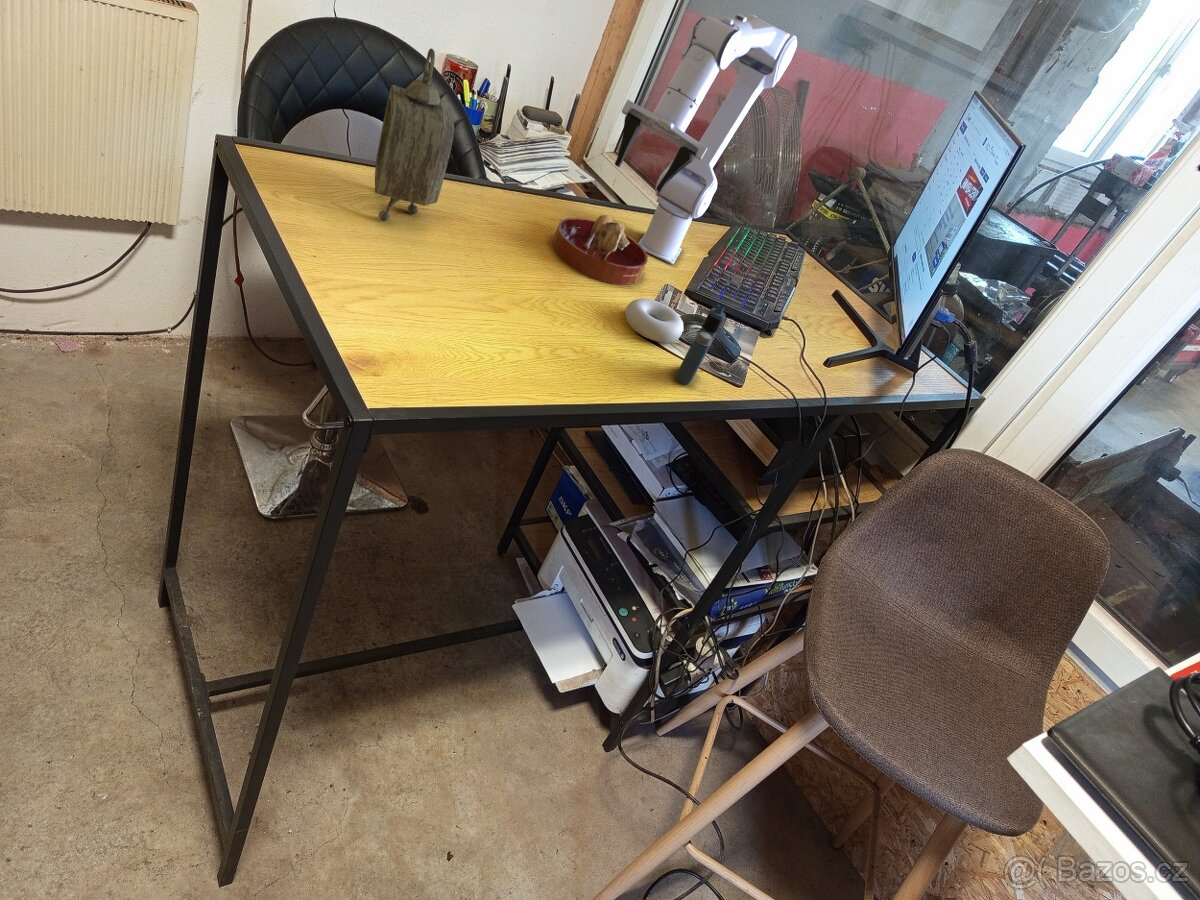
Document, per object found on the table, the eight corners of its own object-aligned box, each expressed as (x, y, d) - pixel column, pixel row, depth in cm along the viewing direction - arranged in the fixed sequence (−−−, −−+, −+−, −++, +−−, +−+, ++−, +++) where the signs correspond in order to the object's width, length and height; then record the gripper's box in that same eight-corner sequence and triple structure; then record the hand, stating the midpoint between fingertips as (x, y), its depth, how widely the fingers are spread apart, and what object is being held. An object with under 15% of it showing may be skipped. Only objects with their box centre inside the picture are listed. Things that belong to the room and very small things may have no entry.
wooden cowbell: (370, 185, 129) (401, 27, 115) (425, 199, 132) (461, 47, 118) (371, 223, 118) (405, 55, 104) (429, 238, 122) (470, 77, 108)
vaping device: (695, 373, 120) (730, 308, 113) (688, 387, 115) (724, 320, 108) (680, 366, 120) (714, 300, 113) (672, 379, 115) (707, 312, 109)
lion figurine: (617, 279, 135) (636, 233, 130) (589, 272, 133) (607, 225, 128) (599, 241, 146) (617, 196, 141) (573, 234, 144) (590, 189, 139)
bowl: (567, 225, 147) (574, 208, 145) (648, 264, 146) (655, 248, 144) (539, 252, 133) (545, 234, 131) (628, 295, 132) (636, 278, 130)
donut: (616, 329, 122) (675, 354, 122) (624, 311, 120) (683, 336, 120) (627, 305, 130) (682, 328, 130) (634, 287, 128) (690, 311, 128)
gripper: (641, 67, 116) (596, 150, 119) (723, 117, 117) (676, 199, 120) (643, 78, 123) (600, 157, 126) (721, 126, 123) (676, 203, 127)
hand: (637, 178), depth 123 cm, fingers open, 7 cm apart
